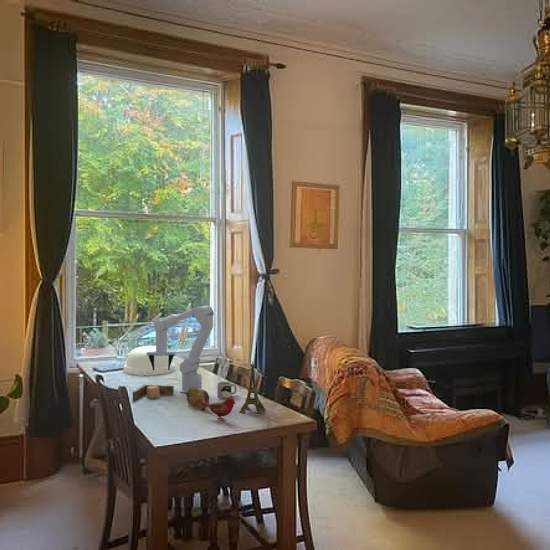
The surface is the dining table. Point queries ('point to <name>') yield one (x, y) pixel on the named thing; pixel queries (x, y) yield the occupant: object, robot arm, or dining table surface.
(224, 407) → the decorative bird figurine
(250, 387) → the eiffel tower
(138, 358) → the dome cover
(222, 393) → the mug
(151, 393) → the cube
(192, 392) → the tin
